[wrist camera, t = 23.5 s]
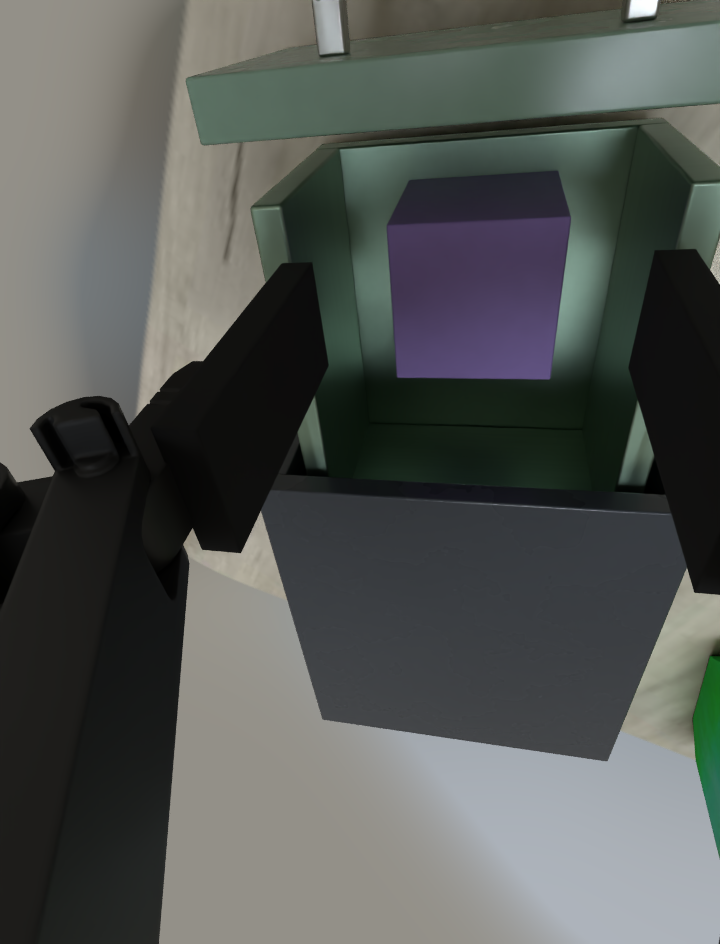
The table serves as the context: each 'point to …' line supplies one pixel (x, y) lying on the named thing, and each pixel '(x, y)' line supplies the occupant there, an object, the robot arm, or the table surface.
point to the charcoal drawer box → (475, 603)
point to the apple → (709, 742)
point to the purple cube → (478, 275)
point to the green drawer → (475, 154)
